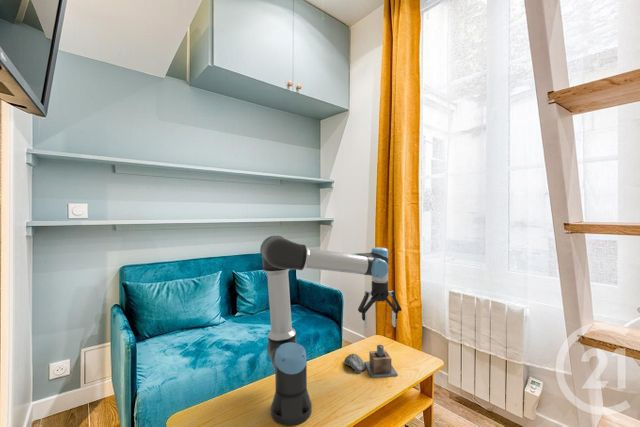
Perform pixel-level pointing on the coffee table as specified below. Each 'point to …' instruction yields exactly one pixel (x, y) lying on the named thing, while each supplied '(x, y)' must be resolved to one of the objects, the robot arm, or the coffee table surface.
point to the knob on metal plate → (381, 374)
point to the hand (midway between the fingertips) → (379, 326)
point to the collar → (380, 362)
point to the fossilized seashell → (355, 362)
